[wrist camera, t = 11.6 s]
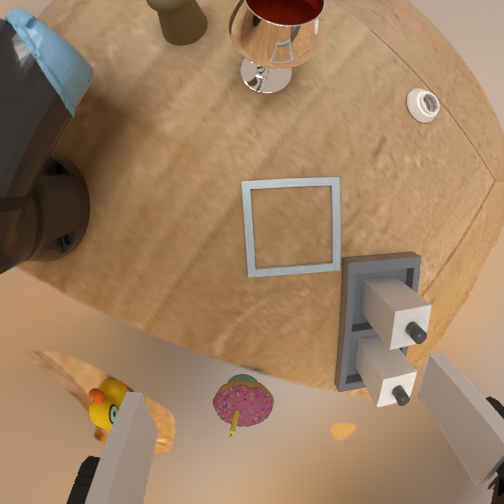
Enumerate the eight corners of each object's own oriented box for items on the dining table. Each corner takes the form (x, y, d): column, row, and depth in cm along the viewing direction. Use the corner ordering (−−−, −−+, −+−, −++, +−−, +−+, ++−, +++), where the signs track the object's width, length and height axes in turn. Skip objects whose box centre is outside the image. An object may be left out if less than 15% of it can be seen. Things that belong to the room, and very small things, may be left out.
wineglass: (307, 56, 32) (352, -17, 14) (286, 109, 34) (324, 58, 16) (246, 36, 31) (249, -50, 13) (223, 88, 33) (207, 21, 15)
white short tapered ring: (437, 121, 34) (427, 88, 33) (448, 118, 31) (438, 84, 30) (411, 125, 34) (401, 91, 33) (422, 122, 31) (411, 86, 30)
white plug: (355, 366, 43) (382, 419, 31) (358, 339, 41) (390, 391, 29) (383, 360, 43) (416, 409, 31) (387, 334, 41) (425, 381, 29)
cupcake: (205, 389, 44) (197, 445, 32) (235, 354, 42) (233, 411, 30) (250, 410, 45) (253, 466, 33) (282, 379, 43) (292, 435, 32)
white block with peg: (361, 313, 40) (398, 361, 28) (363, 280, 39) (405, 321, 27) (391, 308, 40) (434, 351, 28) (394, 276, 39) (442, 313, 27)
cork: (212, 11, 30) (203, -35, 19) (201, 46, 31) (187, 6, 20) (169, 9, 29) (148, -33, 18) (157, 44, 31) (130, 7, 20)
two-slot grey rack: (334, 382, 44) (338, 392, 42) (342, 257, 39) (348, 263, 36) (394, 370, 44) (400, 379, 42) (412, 251, 39) (421, 256, 36)
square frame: (248, 276, 39) (248, 277, 38) (241, 181, 36) (241, 181, 35) (338, 268, 39) (340, 270, 38) (337, 177, 36) (339, 177, 35)
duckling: (96, 359, 42) (71, 397, 32) (124, 361, 42) (102, 401, 32) (116, 409, 45) (99, 447, 35) (143, 411, 45) (128, 452, 35)
